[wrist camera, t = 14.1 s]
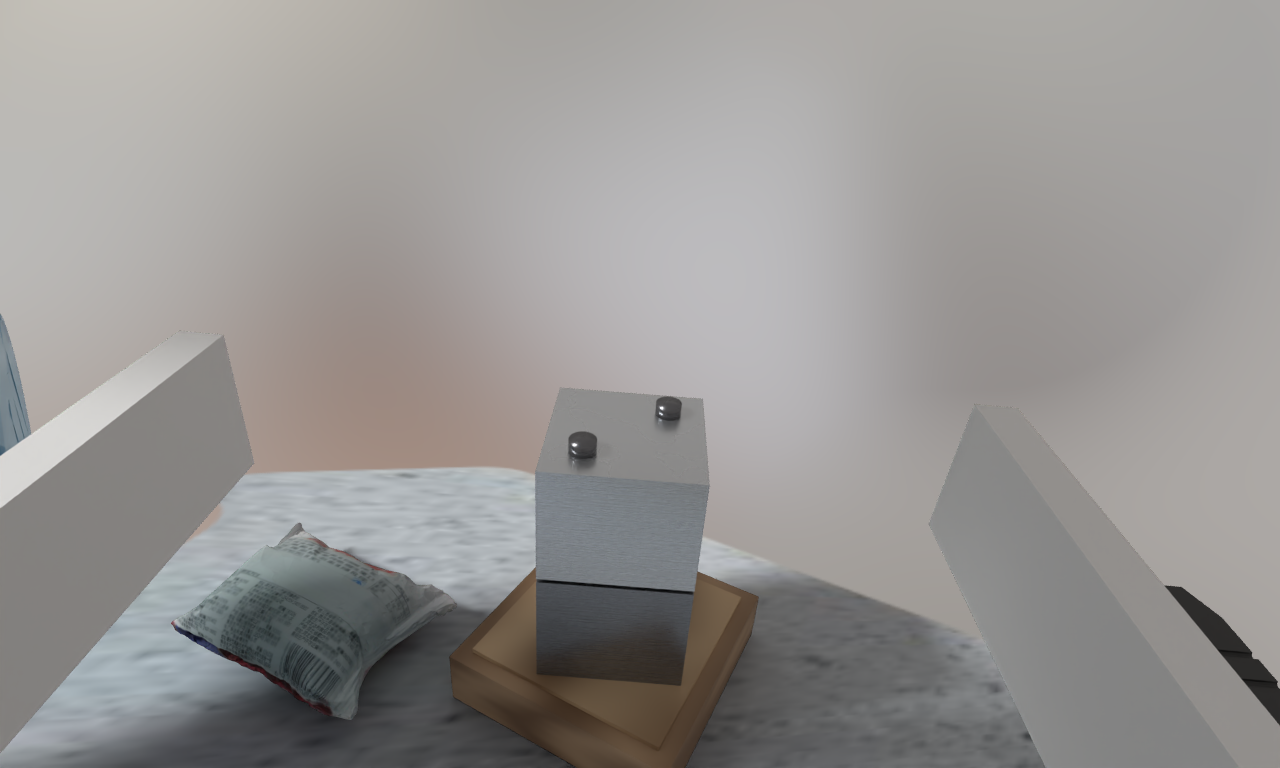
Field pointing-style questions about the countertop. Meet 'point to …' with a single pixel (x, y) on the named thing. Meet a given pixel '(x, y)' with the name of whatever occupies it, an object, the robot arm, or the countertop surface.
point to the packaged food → (312, 619)
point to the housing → (619, 534)
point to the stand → (603, 684)
